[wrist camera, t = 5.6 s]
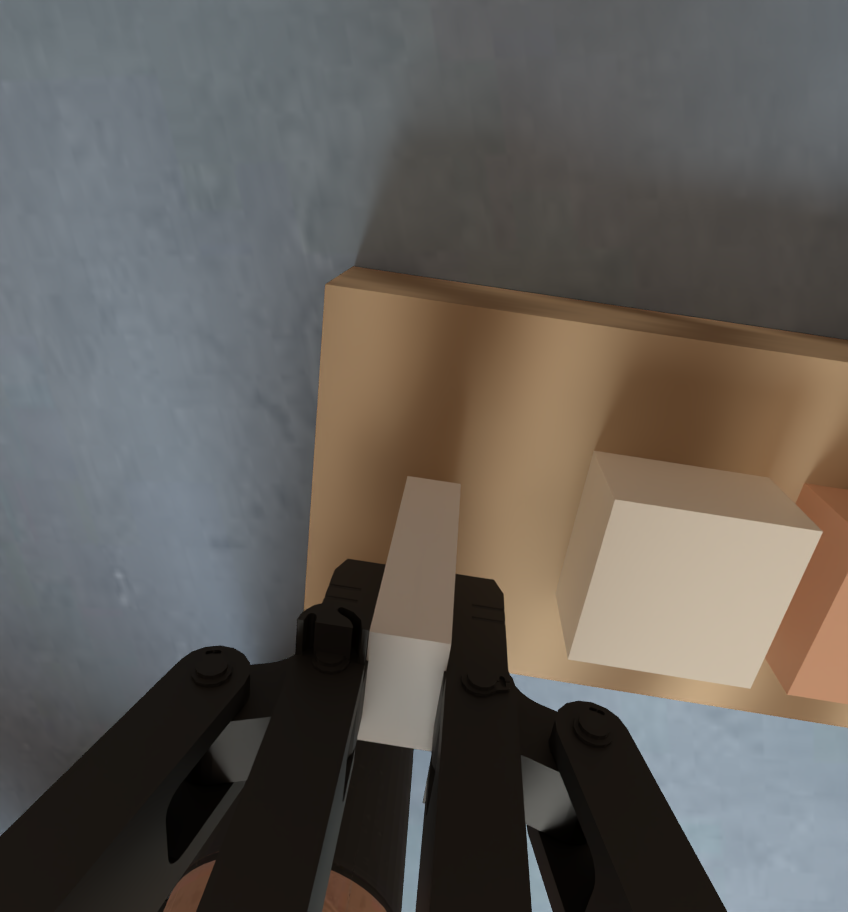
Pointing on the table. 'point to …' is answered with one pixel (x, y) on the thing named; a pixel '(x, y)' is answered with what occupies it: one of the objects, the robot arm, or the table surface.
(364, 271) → the flat wooden block
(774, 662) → the terracotta clay block
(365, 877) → the travel mug
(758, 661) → the beige square block
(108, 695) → the table surface
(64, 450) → the table surface
